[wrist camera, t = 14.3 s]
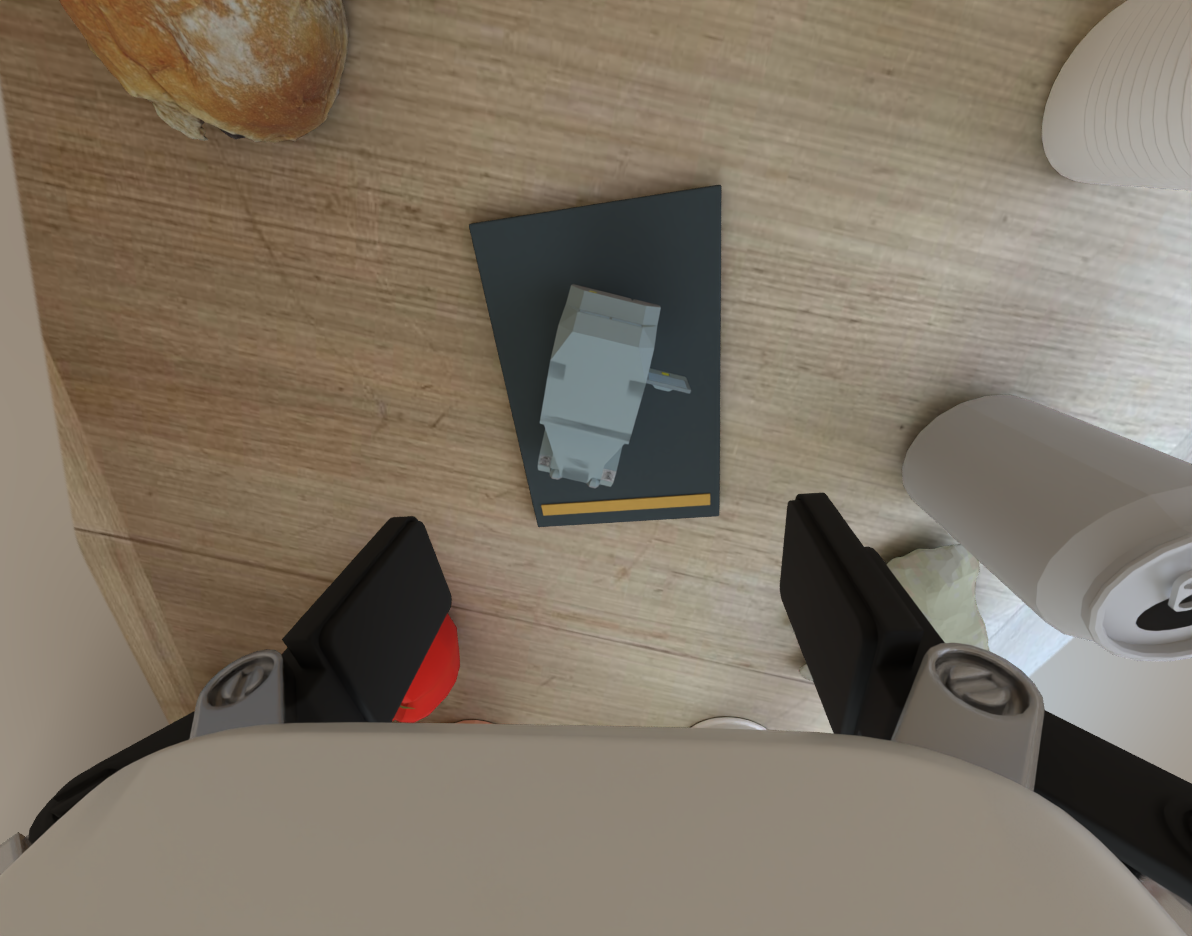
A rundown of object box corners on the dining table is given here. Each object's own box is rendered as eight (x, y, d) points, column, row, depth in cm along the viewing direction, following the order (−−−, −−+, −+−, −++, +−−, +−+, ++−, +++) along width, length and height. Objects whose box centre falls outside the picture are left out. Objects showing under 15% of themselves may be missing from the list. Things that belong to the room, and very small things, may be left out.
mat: (718, 186, 20) (722, 183, 19) (717, 509, 28) (719, 517, 27) (473, 224, 21) (467, 223, 21) (540, 520, 30) (537, 528, 29)
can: (910, 523, 27) (1085, 699, 17) (878, 428, 25) (1064, 568, 14) (1046, 473, 25) (1347, 641, 15) (1028, 363, 22) (1383, 472, 12)
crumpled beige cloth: (926, 705, 34) (1046, 555, 27) (948, 748, 31) (1090, 592, 24) (767, 659, 35) (843, 507, 28) (773, 696, 32) (861, 535, 25)
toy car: (544, 454, 26) (527, 496, 22) (576, 281, 21) (562, 291, 17) (646, 478, 26) (648, 523, 22) (699, 312, 22) (715, 329, 17)
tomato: (344, 615, 36) (278, 700, 29) (398, 558, 32) (337, 639, 26) (436, 671, 38) (395, 761, 32) (495, 624, 35) (463, 714, 28)
